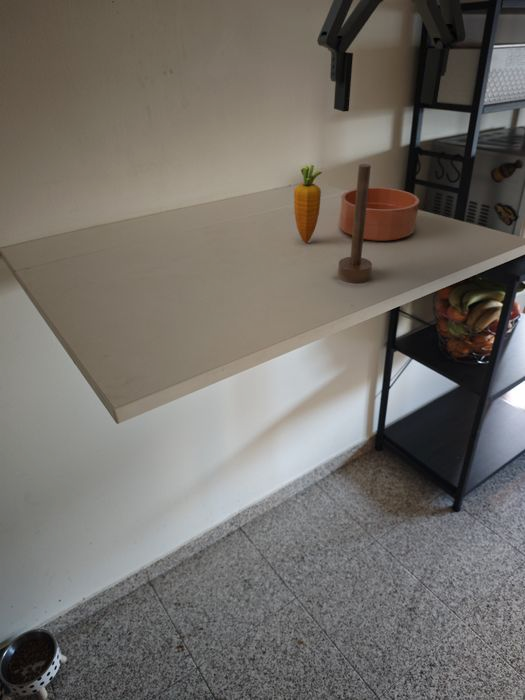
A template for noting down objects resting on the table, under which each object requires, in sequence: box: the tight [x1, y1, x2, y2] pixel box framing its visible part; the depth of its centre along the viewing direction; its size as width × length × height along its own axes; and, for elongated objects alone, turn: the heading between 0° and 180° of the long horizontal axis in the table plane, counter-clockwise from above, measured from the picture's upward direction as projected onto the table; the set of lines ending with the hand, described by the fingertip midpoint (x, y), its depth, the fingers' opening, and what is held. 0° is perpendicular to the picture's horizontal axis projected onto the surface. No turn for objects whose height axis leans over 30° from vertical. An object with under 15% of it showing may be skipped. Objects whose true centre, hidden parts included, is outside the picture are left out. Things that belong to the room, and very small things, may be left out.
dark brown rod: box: [337, 163, 373, 284], centre depth 81 cm, size 6×6×18 cm
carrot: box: [293, 164, 323, 244], centre depth 94 cm, size 5×5×15 cm
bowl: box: [338, 186, 420, 242], centre depth 103 cm, size 15×15×6 cm
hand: (385, 106), depth 67 cm, fingers open, 13 cm apart
